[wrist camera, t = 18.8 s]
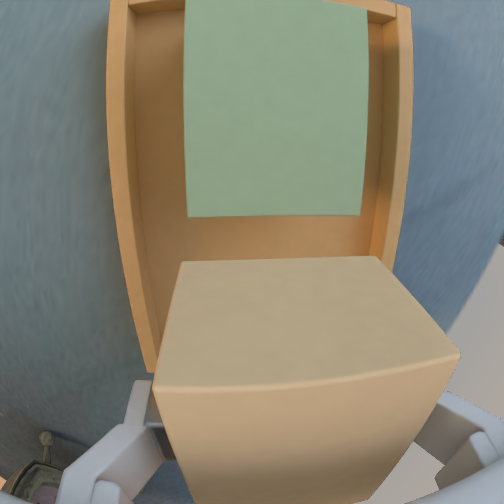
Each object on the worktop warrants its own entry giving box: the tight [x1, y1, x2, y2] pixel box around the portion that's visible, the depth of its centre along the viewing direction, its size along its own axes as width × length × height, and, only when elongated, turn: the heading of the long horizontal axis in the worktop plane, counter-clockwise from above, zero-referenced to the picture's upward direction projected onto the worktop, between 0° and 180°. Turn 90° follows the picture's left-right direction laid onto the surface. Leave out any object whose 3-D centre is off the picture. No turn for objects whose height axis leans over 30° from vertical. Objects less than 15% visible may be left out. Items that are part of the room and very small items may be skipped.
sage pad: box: [183, 0, 369, 218], centre depth 10 cm, size 6×7×4 cm
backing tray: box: [106, 0, 413, 373], centre depth 14 cm, size 13×19×2 cm
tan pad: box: [152, 256, 461, 504], centre depth 8 cm, size 6×7×4 cm
